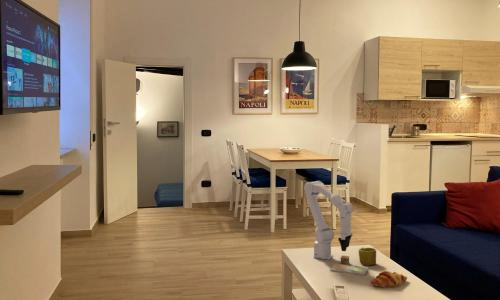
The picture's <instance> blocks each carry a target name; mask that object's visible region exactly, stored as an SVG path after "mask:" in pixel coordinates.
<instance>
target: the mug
mask: <svg viewBox="0 0 500 300" xmlns="http://www.w3.org/2000/svg"><path fill="white" fill-rule="evenodd" d="M358 258H359V263H360V264H361V265H362V266H373V265H376V263H377V249H376V248H374V247H364V246H363V247H361V248H359V249H358Z"/></svg>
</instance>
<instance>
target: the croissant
mask: <svg viewBox="0 0 500 300" xmlns="http://www.w3.org/2000/svg"><path fill="white" fill-rule="evenodd" d="M407 280H408V276H406V275H404V274H402V273H401V274H400V273H398V272H396V271H393V272H391V271H389V270H384V271H381V272H379V273H378V275H377V276H376V277H375V278H373V279H372V280H371V281H370V284H371V285H373V286H375V287H378V288H393V287H394V288H395V287H398V286H400V285H402V284H404V283H405V282H406V281H407Z"/></svg>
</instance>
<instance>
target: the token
mask: <svg viewBox="0 0 500 300" xmlns="http://www.w3.org/2000/svg"><path fill="white" fill-rule="evenodd" d="M339 264H346V265H350V256H348V255H341V256H340V263H339Z"/></svg>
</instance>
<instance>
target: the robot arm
mask: <svg viewBox="0 0 500 300" xmlns="http://www.w3.org/2000/svg"><path fill="white" fill-rule="evenodd" d="M303 189H304V193H305V196H306V197H305V198H306V201H307V204H308V206H309V209H310V212H311V216H312V218H313V219H314V223H315V226H316V228H315V230H314V234H315V241H314V244H313V258H314V259H319V260H320V259H322V260H328V261H329V260H331V259H332V258H333V256H334V255H333V254H332V241H333V239H334V238H335V232H334V231H333V230H332V229H331V226H330V225H329V224H327V223H326V220H325V217H324V215H323V212H322V210H321V207H320V204H319V202H318V199H317V198H318V196H319V195H320V194H321V195H323V196H324V197H326V198H327V199H328V200H329V202H330V203H331V204H332V205H333V206H334V207H336V209H338V213H339V217H340V218H339V219H340V222H339V223H340V226H339V227H340V228H339V236H340V237H338V242H339V245H340V250H341V252H346V251H347V249H348V248H349V247H350V242H351V239H352V237H353V235H354V233H353V232H352V212H353V211H354V209H355V207H354V205H353V204H352V202H350V201H347V200H345V199H343V198H342V197H341V196H340V195H339V194H334V193H332V192H331V191H330V190H329V189H328V188H327V187H326V186H325V183H323V182H322V181H320V180H316V181H308V182H306V183H305V184H304V187H303Z"/></svg>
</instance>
